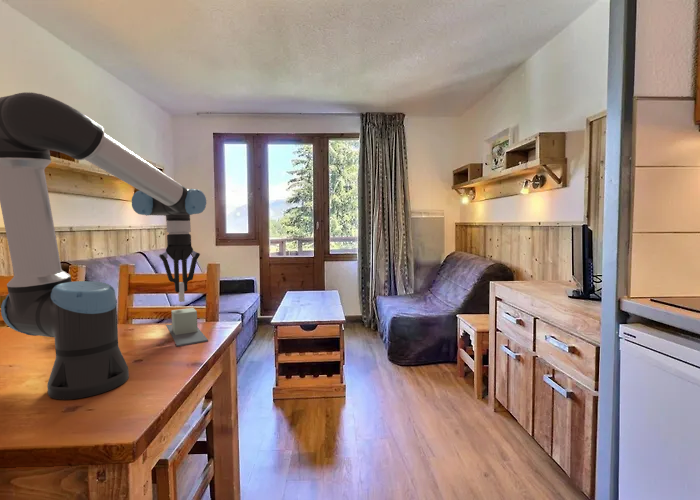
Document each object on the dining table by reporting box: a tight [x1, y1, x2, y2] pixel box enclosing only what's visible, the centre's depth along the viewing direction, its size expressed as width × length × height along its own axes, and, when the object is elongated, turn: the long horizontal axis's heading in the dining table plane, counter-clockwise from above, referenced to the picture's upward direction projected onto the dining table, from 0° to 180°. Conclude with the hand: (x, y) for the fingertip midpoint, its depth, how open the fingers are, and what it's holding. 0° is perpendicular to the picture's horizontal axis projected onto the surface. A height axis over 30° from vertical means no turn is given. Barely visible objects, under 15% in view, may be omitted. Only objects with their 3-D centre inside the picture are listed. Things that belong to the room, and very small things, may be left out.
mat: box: [165, 324, 209, 348], centre depth 124 cm, size 28×9×1 cm, turn 33°
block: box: [170, 307, 199, 335], centre depth 125 cm, size 7×7×7 cm
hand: (181, 301), depth 127 cm, fingers closed
